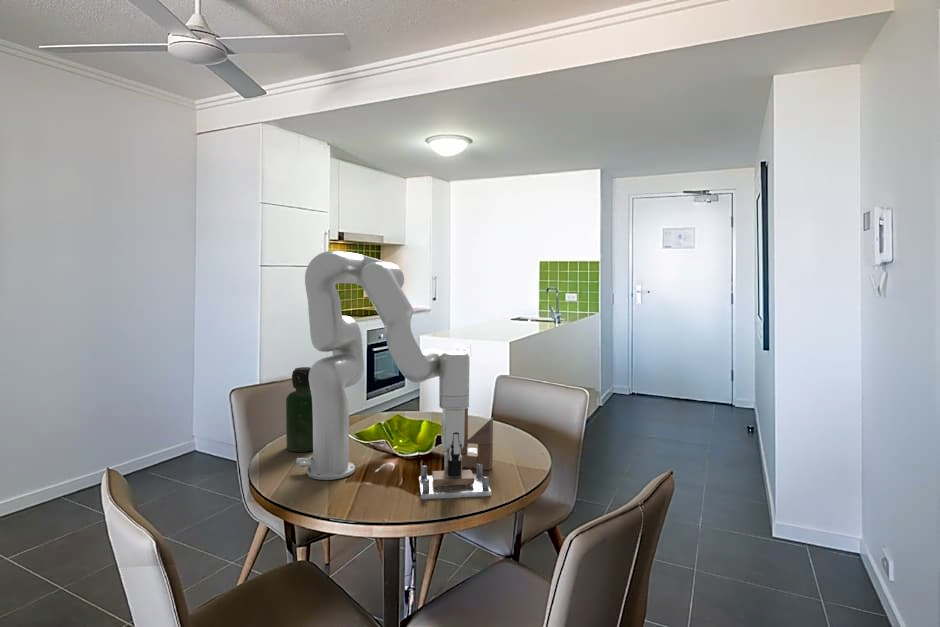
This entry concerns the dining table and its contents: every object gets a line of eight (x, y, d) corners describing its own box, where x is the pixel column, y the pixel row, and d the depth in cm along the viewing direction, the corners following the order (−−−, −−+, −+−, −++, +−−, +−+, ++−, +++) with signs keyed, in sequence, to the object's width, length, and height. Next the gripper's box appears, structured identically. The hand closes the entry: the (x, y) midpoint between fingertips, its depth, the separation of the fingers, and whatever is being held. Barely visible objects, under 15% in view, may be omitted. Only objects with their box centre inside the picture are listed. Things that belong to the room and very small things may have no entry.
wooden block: (489, 470, 146) (490, 406, 145) (452, 467, 149) (453, 404, 148) (492, 466, 150) (493, 403, 149) (456, 462, 153) (456, 401, 152)
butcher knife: (457, 467, 150) (457, 463, 150) (461, 450, 165) (461, 447, 165) (475, 467, 150) (475, 463, 150) (477, 450, 165) (477, 447, 165)
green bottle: (321, 441, 172) (321, 365, 170) (321, 451, 162) (320, 370, 160) (288, 444, 169) (287, 366, 168) (285, 454, 159) (284, 371, 158)
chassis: (421, 499, 126) (421, 482, 126) (419, 480, 138) (419, 464, 138) (491, 495, 129) (491, 479, 129) (483, 477, 141) (483, 462, 140)
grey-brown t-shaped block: (433, 485, 130) (434, 459, 129) (432, 476, 136) (432, 451, 135) (474, 484, 131) (474, 458, 131) (470, 475, 137) (471, 450, 137)
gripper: (436, 394, 140) (436, 461, 141) (441, 409, 124) (441, 485, 125) (464, 393, 141) (464, 461, 142) (473, 408, 125) (472, 484, 126)
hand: (453, 471), depth 133 cm, fingers closed on grey-brown t-shaped block, 4 cm apart
